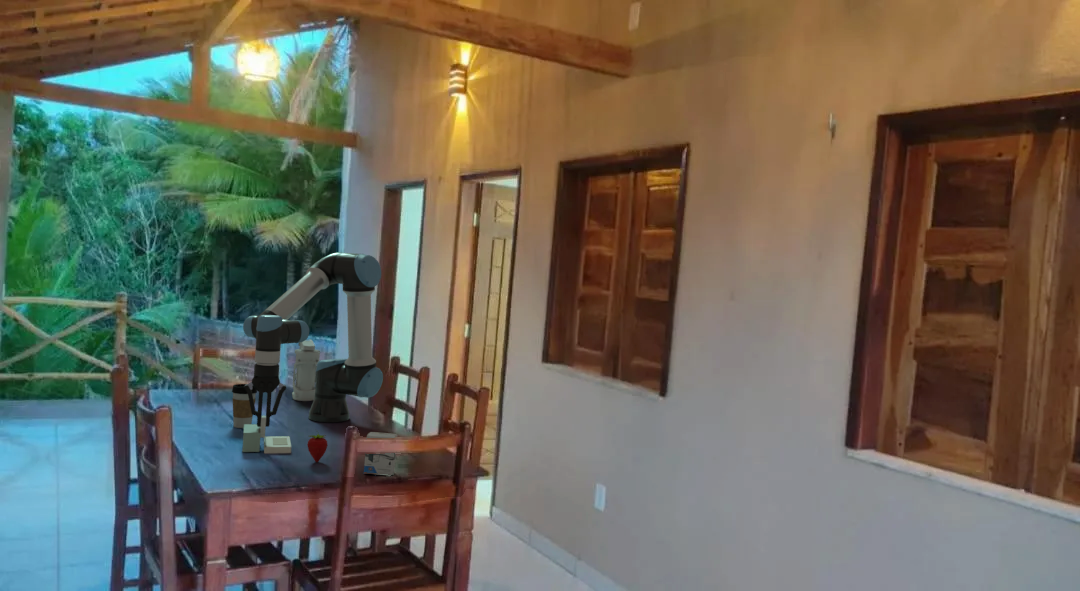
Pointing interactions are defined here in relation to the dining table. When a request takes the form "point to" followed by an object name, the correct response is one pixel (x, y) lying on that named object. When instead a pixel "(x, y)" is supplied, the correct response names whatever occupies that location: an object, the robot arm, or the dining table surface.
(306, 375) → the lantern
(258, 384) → the robot arm
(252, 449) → the grey rectangular block
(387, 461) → the ink box
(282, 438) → the cream flat block
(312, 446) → the strawberry
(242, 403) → the coffee cup
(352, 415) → the dining table surface
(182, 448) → the dining table surface
